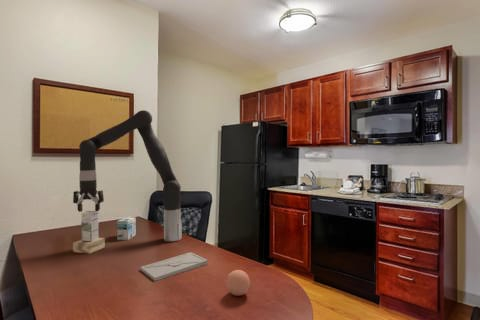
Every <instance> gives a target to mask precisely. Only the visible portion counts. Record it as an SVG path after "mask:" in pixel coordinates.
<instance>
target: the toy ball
mask: <svg viewBox="0 0 480 320" xmlns="http://www.w3.org/2000/svg"><path fill="white" fill-rule="evenodd" d="M225 284H226V288H227V290H228V291H229V293H230V294H232V295H233V296H237V297H238V296H242V295H245V294H246V293H247V291H249V289H250V286H251V280H250V276H249V275H248V274H247V272H245V271H244V270H241V269H235V270H233V271H231V272H230V273H229V274H228V275H227V277H226V281H225Z"/></svg>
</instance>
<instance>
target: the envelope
mask: <svg viewBox="0 0 480 320" xmlns="http://www.w3.org/2000/svg"><path fill="white" fill-rule="evenodd" d="M208 261H209V260H208V259H206V258H204V257H201V256H200V255H197V254H196V253H194V252H187V253H183V254H180V255H176V256H173V257H170V258H169V257H168V258H167V259H161V260H159V261H155V262H153V263H150V264H145V265H143V266H140V271H141V272H143V273H144V274H145V275H146V276H147V277H149V278H150V279H152V280H153V281H154V282H156V281H159V280H162V279H165V278H170V277H172V276H175V275H178V274H181V273H184V272H188V271H190V270H191V271H192V270H194V269H197V268H201V267H204V266H206V265H208V264H209V262H208Z"/></svg>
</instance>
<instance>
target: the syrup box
mask: <svg viewBox="0 0 480 320" xmlns="http://www.w3.org/2000/svg"><path fill="white" fill-rule="evenodd" d="M80 220H81V223H80V224H81V230H80V231H81V239H80V240H81V241H88V242H92V241H94V240H96V239H98V238H99V211H95V210H85V211H82V212H81V219H80Z"/></svg>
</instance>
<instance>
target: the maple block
mask: <svg viewBox="0 0 480 320" xmlns="http://www.w3.org/2000/svg"><path fill="white" fill-rule="evenodd" d="M105 244H106V238H105V237H98V239H96V240H94V241H92V242H88V241H81V239H80V240H76V241H74V242H73V241H72V252H73V253H81V254H92V253H94V252H97V251H99V250H101V249H103V248H106V245H105Z"/></svg>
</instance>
